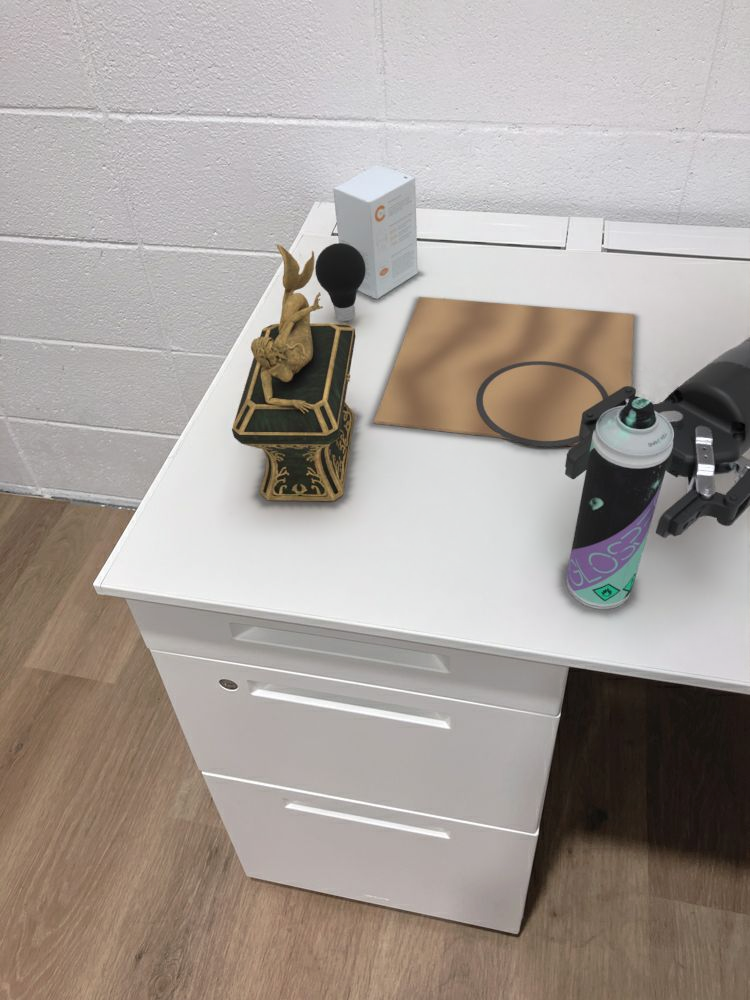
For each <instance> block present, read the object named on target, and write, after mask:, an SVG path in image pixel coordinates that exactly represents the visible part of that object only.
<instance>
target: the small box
mask: <svg viewBox="0 0 750 1000" xmlns="http://www.w3.org/2000/svg"><path fill="white" fill-rule="evenodd" d="M332 191H333V192H332V193H333V200H334V209H335V218H336V229H337V237H338V243H344V244H348V245H351V246H353V247H354V248H355V249H357V250H358V251H359V252H360V254H361V255H362V257H363V259H364V262H365V268H366V271H365V277H364V280H363V282H362V284H361V285H360V287H359V288H358V290H357V292H360V293H362V294H365V295H366V296H369V297H370V298H373V299H375V300H378V299H380V298H381V297H383V296H384V295H386V294H387V293H389V292H391V291H392V290H393V289H395V288H397V287H398V286H400V285H402V284H403V283H404V282H406V281H408V280H409V279H411V278H413V277H415V276H416V275H417V274H419V268H418V267H419V266H418V264H419V263H418V236H417V235H418V234H417V233H418V232H417V230H418V229H417V197H416V177H415V176H412V175H410V174H407V173H404V172H402V171H400V170H396V169H392V168H390V167H387V166H384V165H381V164H376V165H374V166H372V167H370V168H369V169H367V170H365V171H363V172H362V173H359V174H357V175H356V176H354V177H352V178H350V179H348V180H346V181H344V182H342V183H340V184H338V185H336V186H334V187H333V188H332Z"/></svg>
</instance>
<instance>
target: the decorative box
mask: <svg viewBox="0 0 750 1000" xmlns="http://www.w3.org/2000/svg"><path fill="white" fill-rule="evenodd" d="M276 248H277V250H278V252H279V253H280V255H281V257H282V261H283V275H282V286H283V288H284V293H283V297H282V302H281V303H282V304H281V306H282V307H281V314H280V318H279V323H274V324H270V325H268V326H266V327H264V328H262V329H261V332H260V335H259V336H258V337H257V338H254V339H252V341H251V345H250V350H251V353H252V356H253V358H252V362H251V365H250V367H249V372H248V374H247V377H246V381H245V384H244V388H243V391H242V394H241V397H240V401H239V404H238V407H237V411H236V414H235V418H234V421H233V424H232V428H231V432H232V435H233V438H234V439H235V440H236V441H238V443H240V444H241V445H244V446H248V447H253V448H257V449H260V450H262V451H263V452H264V456H265V458H266V459H265V460H266V467H265V471H264V475H263V480H262V483H261V487H260V494H261V495H262V497H264V499H266V500H267V501H299V502H300V501H305V502H306V501H309V502H310V501H311V502H334V501H336V500H338V499H339V498H340V497H342V496H343V495H344V492H345V483H346V478H347V470H348V464H349V458H350V452H351V451H350V450H351V444H352V437H353V430H354V423H355V417H356V416H355V413H354V411H353V410H352V409H351V408H350V407H349V406H348V404H347V403H346V398H347V391H348V386H349V385H348V384H349V383H350V381H351V379H350V378H351V373H350V372H351V368H352V367H351V366H352V360H353V355H354V354H353V353H354V349H355V344H356V328H354V327H353V326H352V325H350V324H348V323H336V322H335V323H332V322H325V323H324V322H323V323H322V322H316V323H315V322H314V323H313V322H312V323H311V312H315V311H317V310H321V309H324V306H323V305H320V304H319V301H321V298H320V297H321V296H322V294H321V292H320V291H319V292H318V294H316V296H315V298H314V301H313V304H312V305H310V304H309V301H308V300H307V298H306V296H305V295H304V294H303V293H301V292H295V291H297V290H301V289H303V288H304V287H306V286H307V284H308V283H309V282H310V281H311V278H312V276H313V273H314V272H315V271H314V270H315V262H316V261H315V260H316V259H315V252H314V250H311V257H310V258H309V259H308V260H307V261H306V262H305V264H304V266H303V269H302V272H300V265H299V263H298V261H297V259H295V258H294V257H293V255H292V254H291V253H290V252H289V251H288V250H287V249H286V248H285V247H283V246H282V245H280V244H278V243H277V244H276Z"/></svg>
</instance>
